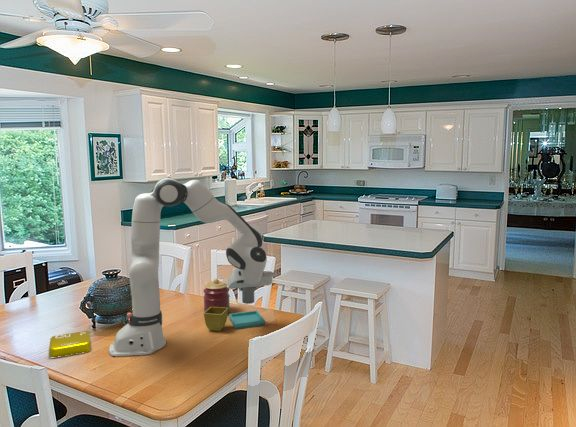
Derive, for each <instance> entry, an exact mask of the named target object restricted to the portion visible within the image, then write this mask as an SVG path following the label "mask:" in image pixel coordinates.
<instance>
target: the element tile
mask: <svg viewBox="0 0 576 427" xmlns="http://www.w3.org/2000/svg"><path fill="white" fill-rule="evenodd" d="M49 340H50V341H49V345H48V346H49V347H48V352H49V358H50V357H58V356H65V355H71V354H76V353H82V352H87V351H89V352H91V351H92V348H91V347H92V344H91V335H90V331H88V330H82V331H78V332H77V331H75V332H72V333H65V334H59V335H58V334H57V335H52V336H51V337H50V338H49ZM90 350H91V351H90ZM87 353H88V352H87ZM82 354H83V353H82ZM76 355H77V354H76ZM71 356H72V355H71ZM65 357H66V356H65Z"/></svg>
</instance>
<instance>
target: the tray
mask: <svg viewBox="0 0 576 427" xmlns="http://www.w3.org/2000/svg"><path fill="white" fill-rule="evenodd" d="M228 319H229V321H230V322H231V324H232V326H233V328H234V330H239V329H247V328H255V327H261V326H265V325H266V323H265V319H264V317H263V316H262V315H261V314H260V312H259V311H258V310H249V311H241V312H235V313H234V312H232V313H228Z"/></svg>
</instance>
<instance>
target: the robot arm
mask: <svg viewBox="0 0 576 427" xmlns="http://www.w3.org/2000/svg"><path fill="white" fill-rule="evenodd" d="M182 203H184V204H185V205H186V206H187V207H188V208H189V209H190V211H191V212H192V214H193V215H194V217H195V218H197V219H198V221H200V222H202V223H203V224H204V223H205V224H212V223H216V222H219V221H222V220H225V221H228V222H229V223H230V224H231V225H232V226H233V227H234V228H235V229H236V230H237V231H238V232H239V234H240V235H239V236H238V237H237V239H235V240H234V241H233V242H232V243H231V244H230V245H229V246H228V247H227V248H226V250H225V255H226V259H227V261H228V262H229V264H230V265H231V266H232V267H234V268H233V269H232V270H231V273H230V274H229V276H228V279H227V280H226V281H227V282H226V284H228V286H227V287H228V288H229V290H231V289H232V290H233V289H238V291H239V292H242V291H243V288H245V287H254V291H255V290H258V288H260V287H265V286H271V285H272V283H273V278H274V277H275V272H273V271H268V270H265V268H266V266H267V265H266V264H267V260H268V259H267V258H268V256H267V253H266V251H265V249H263V248H262V246H263V237H262V235H261V233H260V232H259V231H258V230H256V229H255V228H254V227H252V226H251V225H250V224H249V223H248V222H247V221H246V220H245V219H244V218H243V217H242V216H241V215H240V214H239V213H238V211H236V210H235V209H234V207H232V206H231V205H230V204H228V203H226V202H225V203H222V202H221V201H219V200H218V199H217V198H216V197H215V196H214V195H213V193H212V192H211V191H210V189H208V187H207V186H206V185H205V184H204V183H203V182H202V181H200V180H198V179H191V180H188V181H186V182H185V183H181V182H179V181H178V180H177V179H175V178H173V177H163V178H161V179H159V180H158V181H157V183H156V184H155V186H154V187H153V189H151V192H148V193H147V192H145V193H140V194H138V195H136V197H135V199H134V203H133V207H132V214H131V230H130V232H131V233H130V234H131V235H130V241H131V242H130V243H131V244H130V245H131V261H130V262H131V263H130V265H129V267H128V268H129V269H128V278H129V285H130V293H131V304H132V305H131V307H132V312H127V314H126V319H127V323H126V325H124V326H123V327H122V328H121V329H119V330H118V331H117V332H116V335H115V337H114V341H113V342H112V343H111V344H110V345H109V346H108V347H109V349H108V353H109V355H110V356H111V357H113V356H115V357H129V356H144V355H151V354H154V353H155V352H156V351H158V350H160V349H162V348H164V347H165V346H166V344H167V341H166V338H165V335H164V331H163V312H162V309H161V298H160V297H161V294H160V281H159V280H160V279H159V266H160V235H161V234H160V233H161V214H162V213H161V211H162V209H163V207H173V206H177V205H180V204H182ZM264 270H265V271H264ZM115 357H114V358H115Z"/></svg>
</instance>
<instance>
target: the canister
mask: <svg viewBox="0 0 576 427" xmlns="http://www.w3.org/2000/svg"><path fill="white" fill-rule="evenodd" d="M229 291H230V289H229V288H228V283H227V282H225V281H222V280H219V278H214V279H213V280H212V281H209V282H207V283H206V284H205V285H204V289H203V294H204V296H203V306H204V308H203V313H204V312H206V311H207V310H208V309H209V308H210V307H223V308H228V314H230V310H231V306H230V297H231V296H230V294H229Z"/></svg>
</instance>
